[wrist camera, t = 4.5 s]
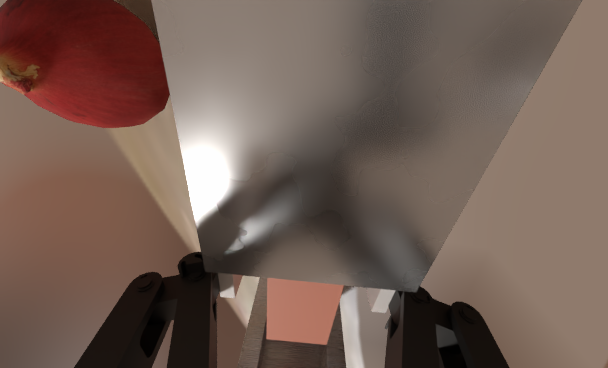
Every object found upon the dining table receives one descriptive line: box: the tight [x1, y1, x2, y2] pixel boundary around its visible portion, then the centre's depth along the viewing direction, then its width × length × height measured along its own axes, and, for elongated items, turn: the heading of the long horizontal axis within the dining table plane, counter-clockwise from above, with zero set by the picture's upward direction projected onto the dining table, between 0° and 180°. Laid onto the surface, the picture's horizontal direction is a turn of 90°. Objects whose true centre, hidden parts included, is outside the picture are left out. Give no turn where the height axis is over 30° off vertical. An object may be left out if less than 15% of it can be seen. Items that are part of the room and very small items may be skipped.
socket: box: [237, 277, 346, 368], centre depth 20 cm, size 4×8×10 cm, turn 84°
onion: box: [0, 0, 170, 128], centre depth 10 cm, size 6×6×8 cm
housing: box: [151, 0, 582, 292], centre depth 10 cm, size 9×8×10 cm
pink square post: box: [266, 278, 344, 345], centre depth 12 cm, size 18×4×4 cm, turn 175°
